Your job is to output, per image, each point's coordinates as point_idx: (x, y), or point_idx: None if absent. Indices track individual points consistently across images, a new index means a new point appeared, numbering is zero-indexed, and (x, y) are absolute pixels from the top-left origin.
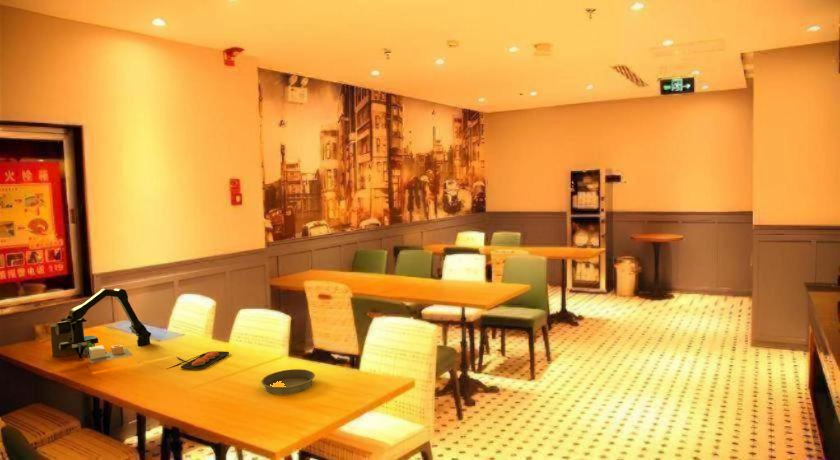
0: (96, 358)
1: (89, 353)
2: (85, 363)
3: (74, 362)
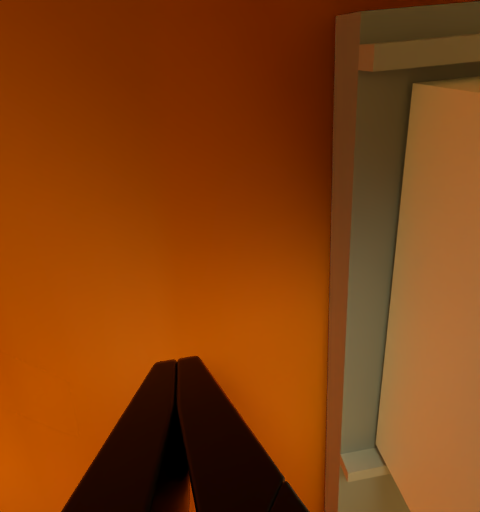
0: None
1: (464, 214)
2: (256, 428)
3: (29, 242)
